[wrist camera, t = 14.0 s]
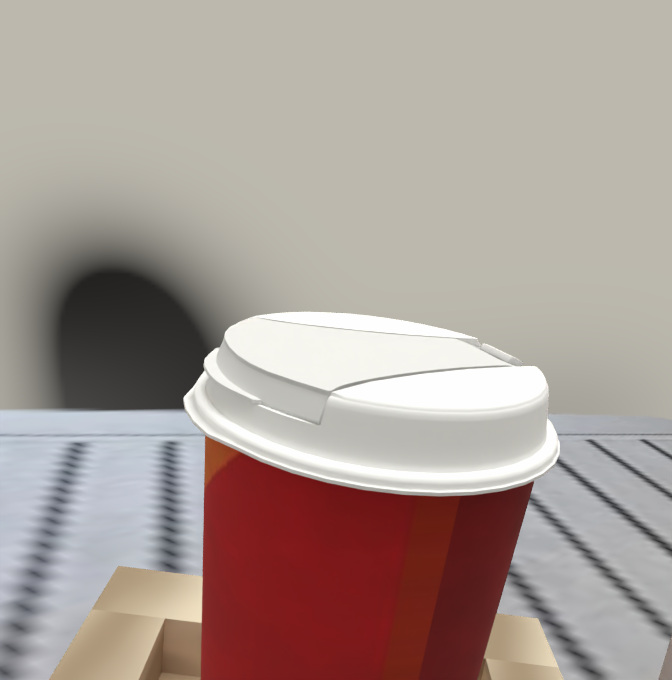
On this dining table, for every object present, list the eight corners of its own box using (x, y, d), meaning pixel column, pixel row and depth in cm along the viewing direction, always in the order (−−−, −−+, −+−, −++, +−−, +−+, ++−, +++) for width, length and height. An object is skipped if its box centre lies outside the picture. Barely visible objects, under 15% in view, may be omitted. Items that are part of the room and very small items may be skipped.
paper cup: (376, 713, 22) (444, 312, 18) (515, 975, 15) (666, 412, 11) (136, 767, 19) (164, 299, 15) (171, 1127, 12) (237, 424, 8)
